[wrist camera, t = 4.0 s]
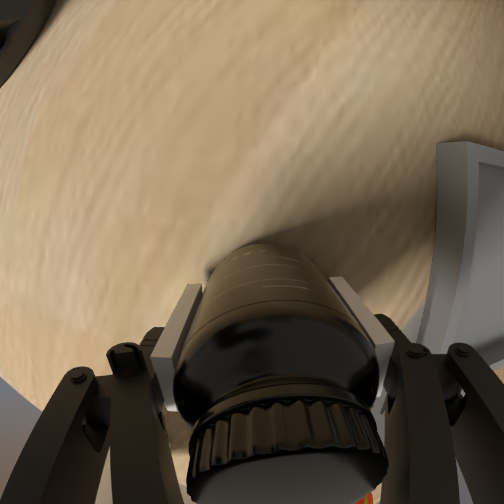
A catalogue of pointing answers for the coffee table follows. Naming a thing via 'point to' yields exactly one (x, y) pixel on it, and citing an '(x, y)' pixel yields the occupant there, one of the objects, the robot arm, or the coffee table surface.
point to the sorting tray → (467, 254)
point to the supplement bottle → (277, 387)
